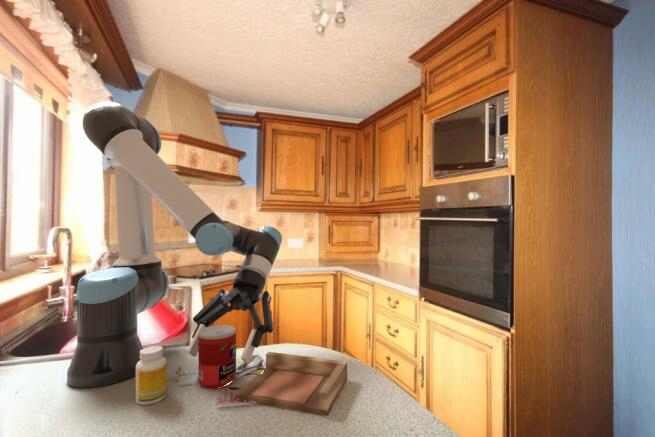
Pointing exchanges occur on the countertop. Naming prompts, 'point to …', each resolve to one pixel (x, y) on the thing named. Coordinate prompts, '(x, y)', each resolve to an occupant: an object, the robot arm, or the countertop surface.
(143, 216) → the robot arm
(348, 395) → the countertop surface
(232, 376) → the canned food
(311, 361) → the wooden tray
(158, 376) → the supplement bottle
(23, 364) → the countertop surface
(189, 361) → the countertop surface
